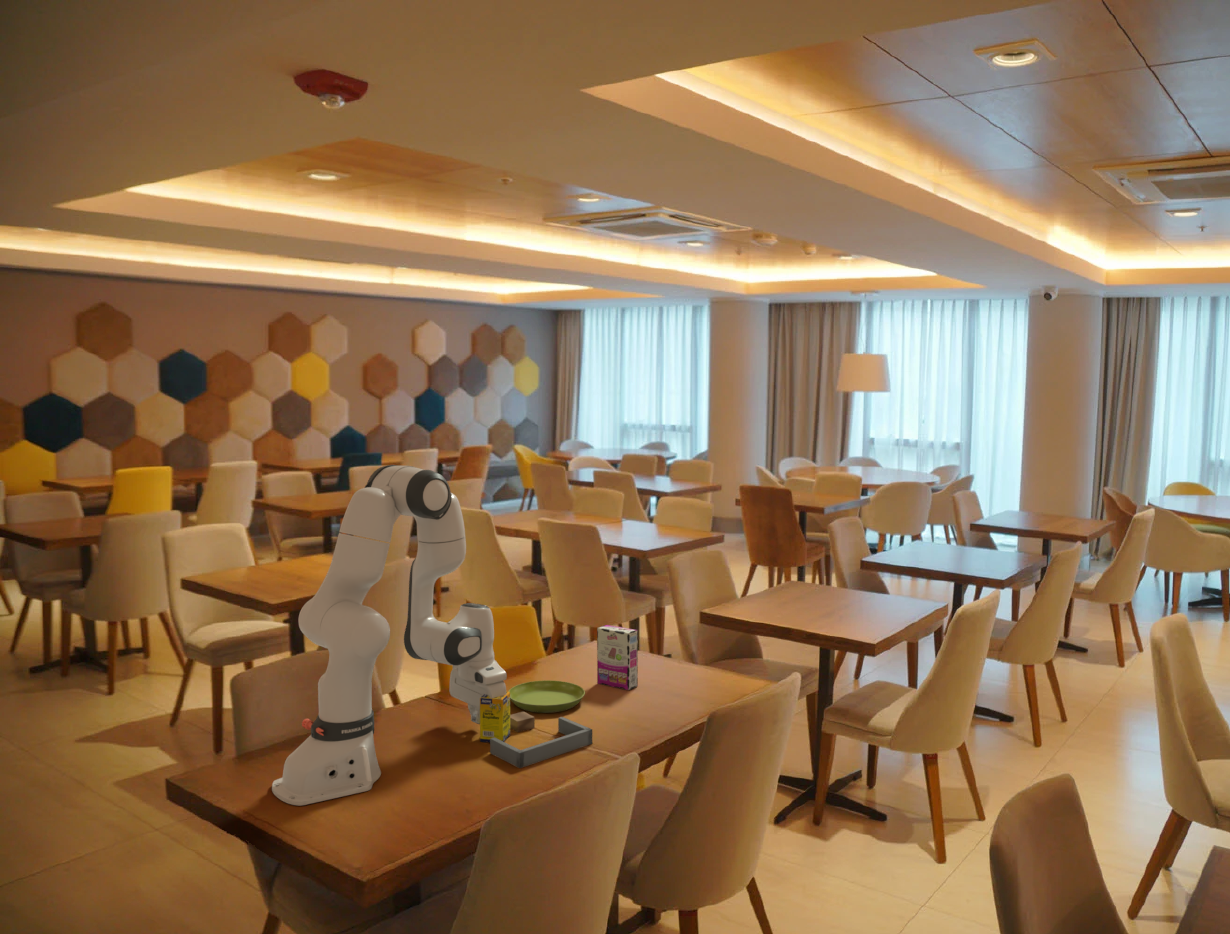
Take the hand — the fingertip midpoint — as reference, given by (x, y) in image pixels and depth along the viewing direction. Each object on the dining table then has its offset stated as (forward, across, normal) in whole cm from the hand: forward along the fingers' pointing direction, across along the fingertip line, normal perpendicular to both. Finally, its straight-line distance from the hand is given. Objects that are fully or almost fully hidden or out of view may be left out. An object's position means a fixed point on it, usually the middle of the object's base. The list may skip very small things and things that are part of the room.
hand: (477, 722), depth 232 cm
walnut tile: (+2, +6, +9) cm, 11 cm away
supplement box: (+2, +8, 0) cm, 8 cm away
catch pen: (+2, +20, +4) cm, 21 cm away
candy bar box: (+2, -2, +49) cm, 49 cm away
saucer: (+2, -4, +25) cm, 25 cm away
